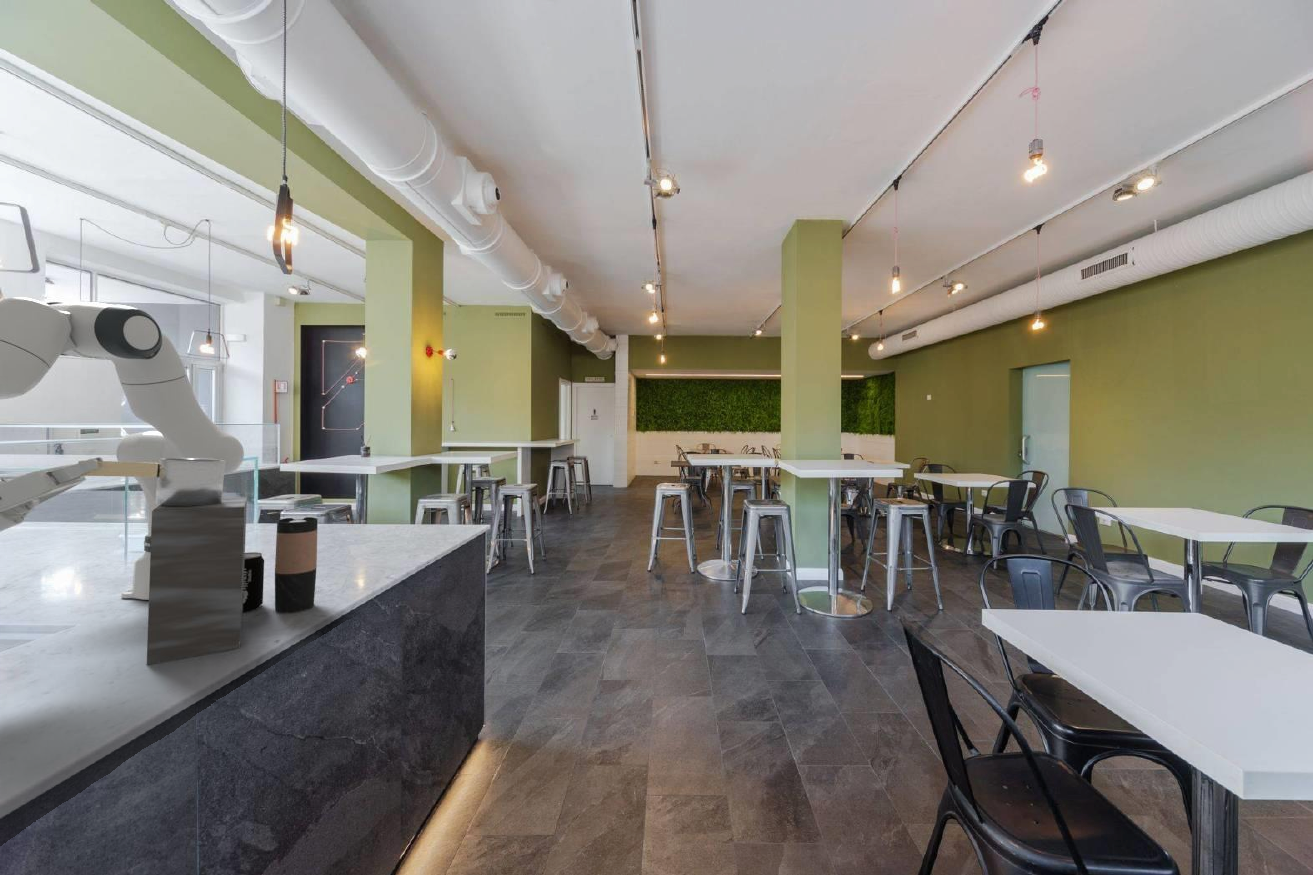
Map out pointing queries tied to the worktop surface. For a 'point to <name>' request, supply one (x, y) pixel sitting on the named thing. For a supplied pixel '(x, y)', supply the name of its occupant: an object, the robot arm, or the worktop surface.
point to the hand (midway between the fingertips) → (100, 461)
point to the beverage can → (253, 581)
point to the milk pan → (174, 478)
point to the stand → (196, 579)
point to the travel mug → (295, 564)
